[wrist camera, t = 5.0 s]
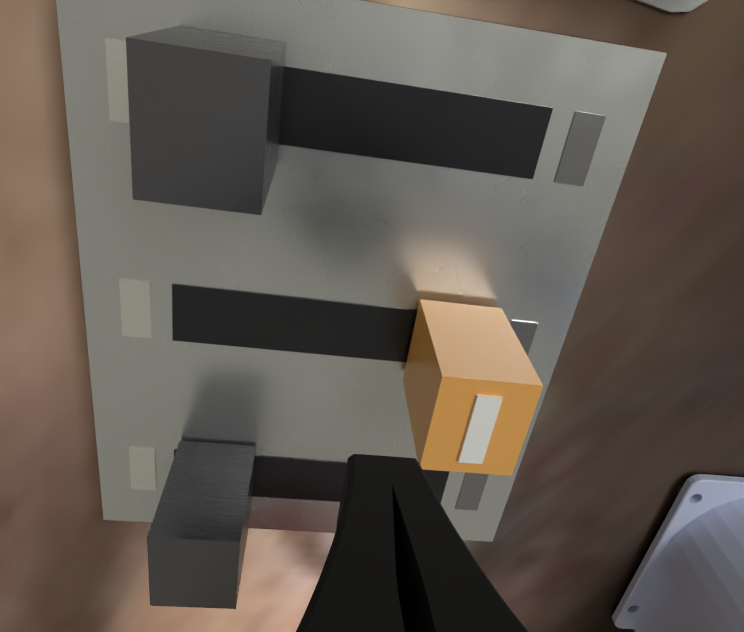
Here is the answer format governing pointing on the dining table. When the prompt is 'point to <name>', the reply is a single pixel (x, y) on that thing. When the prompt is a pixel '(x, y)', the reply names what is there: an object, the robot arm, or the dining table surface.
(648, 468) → the dining table surface
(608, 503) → the dining table surface
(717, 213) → the dining table surface
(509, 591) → the dining table surface
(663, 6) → the emergency button
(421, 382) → the breaker
